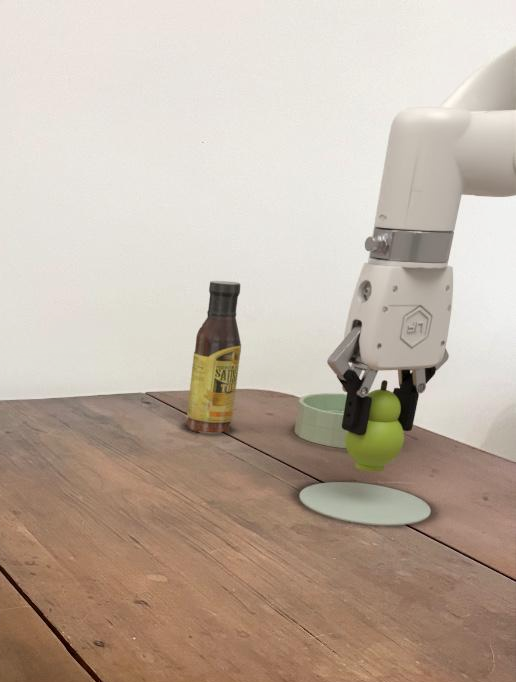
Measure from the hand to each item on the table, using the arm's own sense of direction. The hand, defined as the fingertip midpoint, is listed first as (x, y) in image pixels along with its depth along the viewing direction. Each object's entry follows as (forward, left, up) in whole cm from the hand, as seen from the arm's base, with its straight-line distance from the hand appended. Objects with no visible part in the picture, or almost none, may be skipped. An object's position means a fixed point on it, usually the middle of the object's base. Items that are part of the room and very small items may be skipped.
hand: (376, 428), depth 98 cm
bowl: (-7, -27, -9) cm, 29 cm away
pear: (0, 0, -4) cm, 4 cm away
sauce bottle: (+11, -31, -9) cm, 34 cm away
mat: (0, 0, -9) cm, 9 cm away
